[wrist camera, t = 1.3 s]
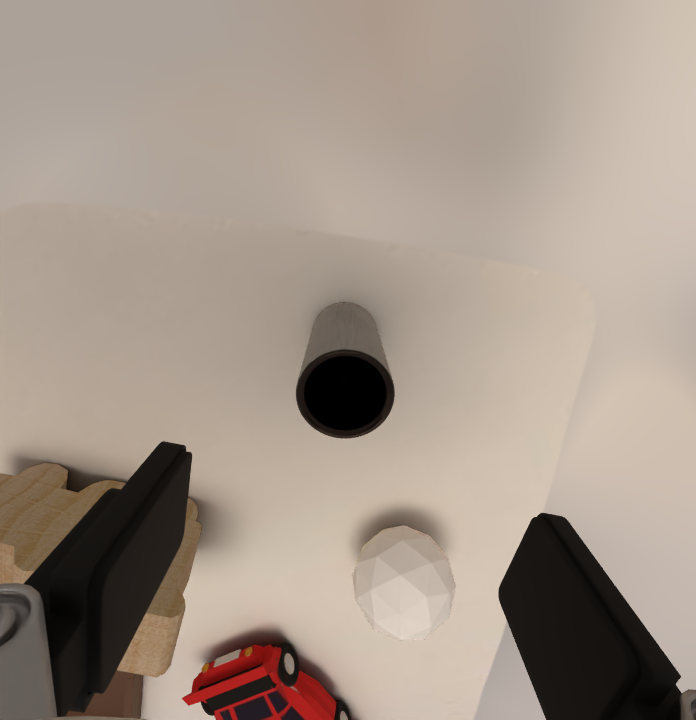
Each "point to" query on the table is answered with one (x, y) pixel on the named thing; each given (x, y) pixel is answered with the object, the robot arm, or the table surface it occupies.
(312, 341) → the grey hollow cylinder
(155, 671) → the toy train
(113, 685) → the tray
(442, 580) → the geometric ball
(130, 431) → the table surface
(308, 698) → the toy car
